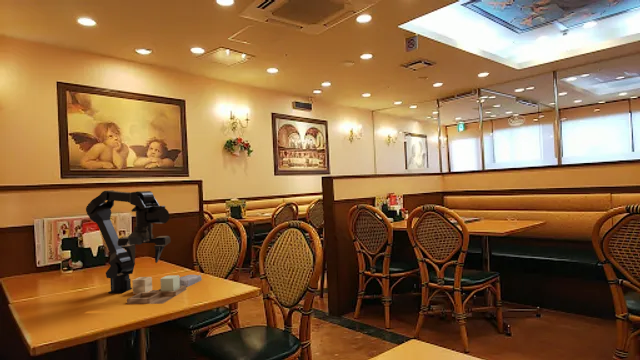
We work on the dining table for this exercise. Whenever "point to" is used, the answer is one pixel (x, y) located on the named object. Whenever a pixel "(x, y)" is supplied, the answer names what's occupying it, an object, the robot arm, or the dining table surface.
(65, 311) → the dining table surface
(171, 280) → the sage block
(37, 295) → the dining table surface
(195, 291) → the dining table surface
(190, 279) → the stone block
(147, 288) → the oak block
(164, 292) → the walnut base board
